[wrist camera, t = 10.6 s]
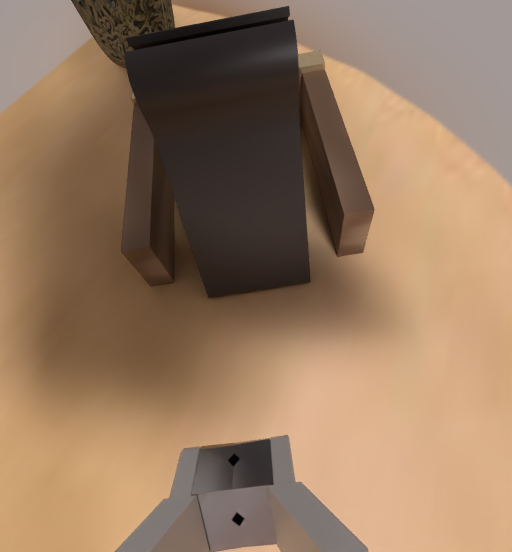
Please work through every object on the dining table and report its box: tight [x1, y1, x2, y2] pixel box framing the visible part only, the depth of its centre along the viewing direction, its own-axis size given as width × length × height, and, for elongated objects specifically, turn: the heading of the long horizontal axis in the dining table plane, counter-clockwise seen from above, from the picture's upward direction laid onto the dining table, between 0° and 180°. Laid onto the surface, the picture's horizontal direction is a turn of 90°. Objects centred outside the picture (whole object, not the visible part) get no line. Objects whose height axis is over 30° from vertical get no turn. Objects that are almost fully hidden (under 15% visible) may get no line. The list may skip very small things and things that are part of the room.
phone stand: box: [124, 6, 310, 298], centre depth 18 cm, size 9×6×12 cm, turn 6°
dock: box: [121, 50, 375, 286], centre depth 23 cm, size 13×14×4 cm
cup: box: [71, 0, 175, 69], centre depth 29 cm, size 8×7×8 cm
